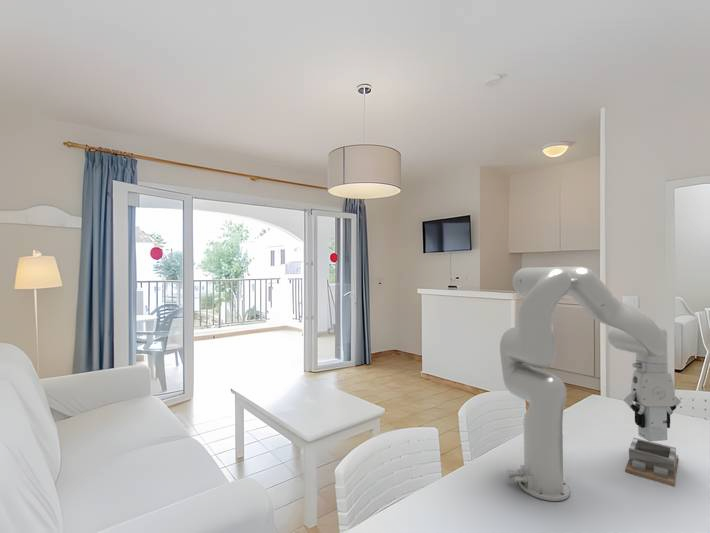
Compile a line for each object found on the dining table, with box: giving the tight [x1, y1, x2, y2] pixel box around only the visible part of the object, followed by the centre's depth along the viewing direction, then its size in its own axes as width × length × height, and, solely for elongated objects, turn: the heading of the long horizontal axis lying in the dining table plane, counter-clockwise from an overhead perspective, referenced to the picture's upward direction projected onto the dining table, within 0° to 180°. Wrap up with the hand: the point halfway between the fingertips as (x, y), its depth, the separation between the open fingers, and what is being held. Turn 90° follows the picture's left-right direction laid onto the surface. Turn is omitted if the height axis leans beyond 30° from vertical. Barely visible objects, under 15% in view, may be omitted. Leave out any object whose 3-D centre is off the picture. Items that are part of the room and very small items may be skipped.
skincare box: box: [637, 406, 668, 442], centre depth 114 cm, size 6×4×12 cm
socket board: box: [624, 437, 679, 487], centre depth 114 cm, size 20×11×5 cm, turn 137°
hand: (652, 425), depth 114 cm, fingers closed on skincare box, 6 cm apart
